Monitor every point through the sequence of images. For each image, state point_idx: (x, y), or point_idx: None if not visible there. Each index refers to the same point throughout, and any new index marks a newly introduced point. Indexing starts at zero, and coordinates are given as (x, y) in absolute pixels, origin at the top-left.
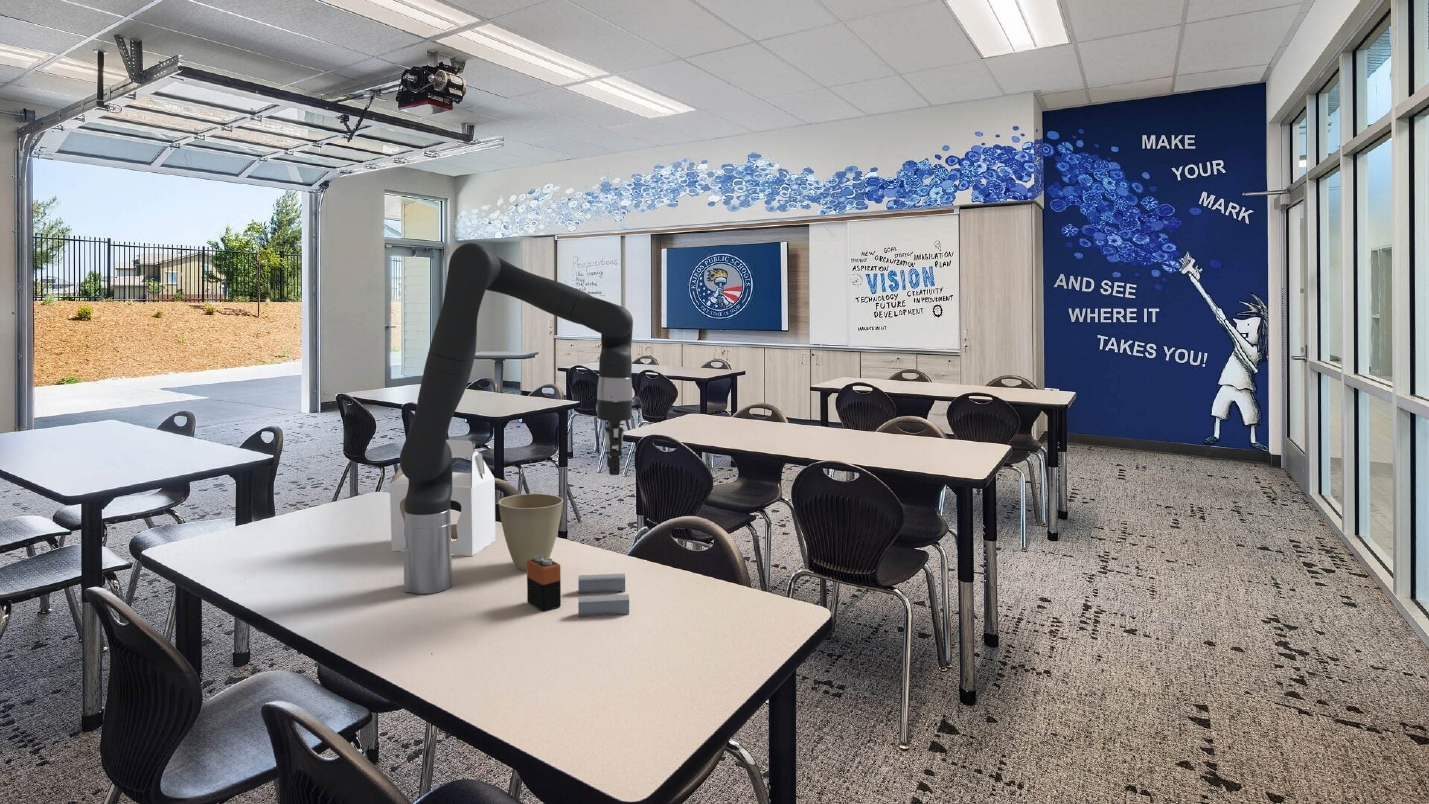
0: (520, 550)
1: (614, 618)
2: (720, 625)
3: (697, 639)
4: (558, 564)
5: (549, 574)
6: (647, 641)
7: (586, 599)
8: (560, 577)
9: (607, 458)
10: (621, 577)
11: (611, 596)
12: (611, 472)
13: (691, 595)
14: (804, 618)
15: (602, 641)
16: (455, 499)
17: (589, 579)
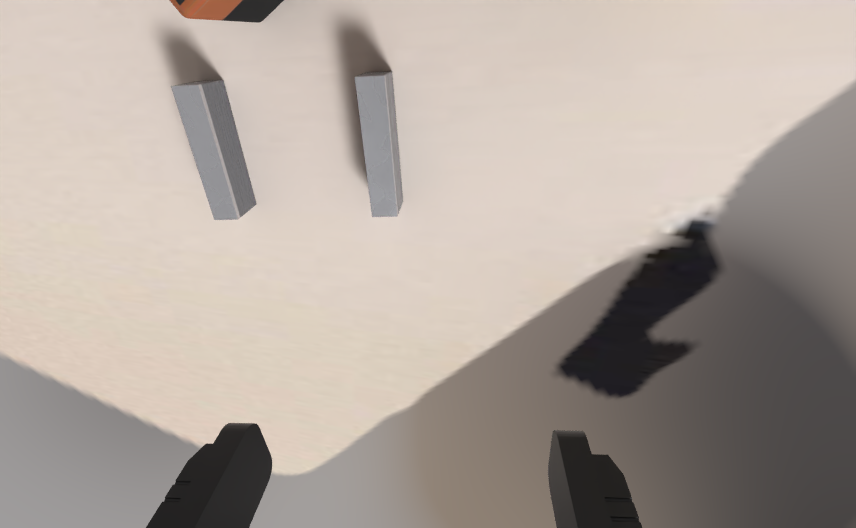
0: None
1: None
2: (209, 352)
3: (140, 312)
4: (181, 9)
5: None
6: (106, 232)
7: (182, 110)
8: (214, 19)
9: (570, 505)
10: (371, 206)
11: (215, 177)
12: (203, 447)
13: (354, 330)
14: None
15: (78, 144)
16: None
17: (359, 113)
